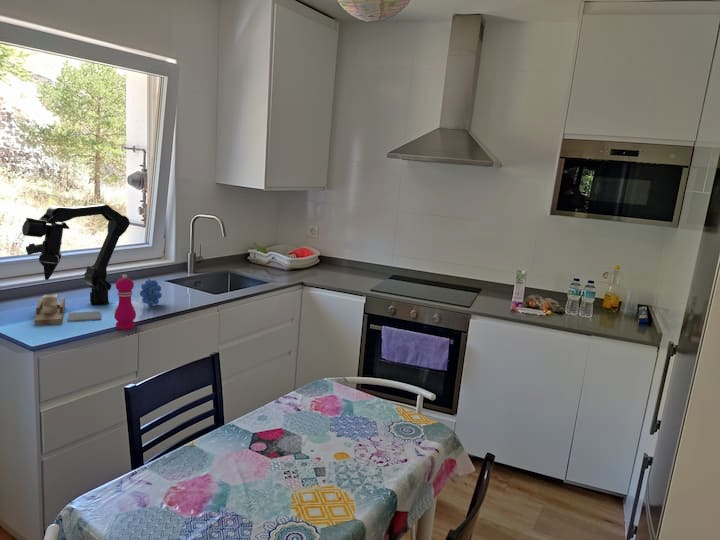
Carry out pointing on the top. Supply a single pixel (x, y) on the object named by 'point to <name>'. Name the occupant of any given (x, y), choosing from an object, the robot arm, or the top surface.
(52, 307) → the maple block
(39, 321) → the walnut trough
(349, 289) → the top surface
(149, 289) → the grapes
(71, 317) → the slate pad
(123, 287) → the pepper mill
